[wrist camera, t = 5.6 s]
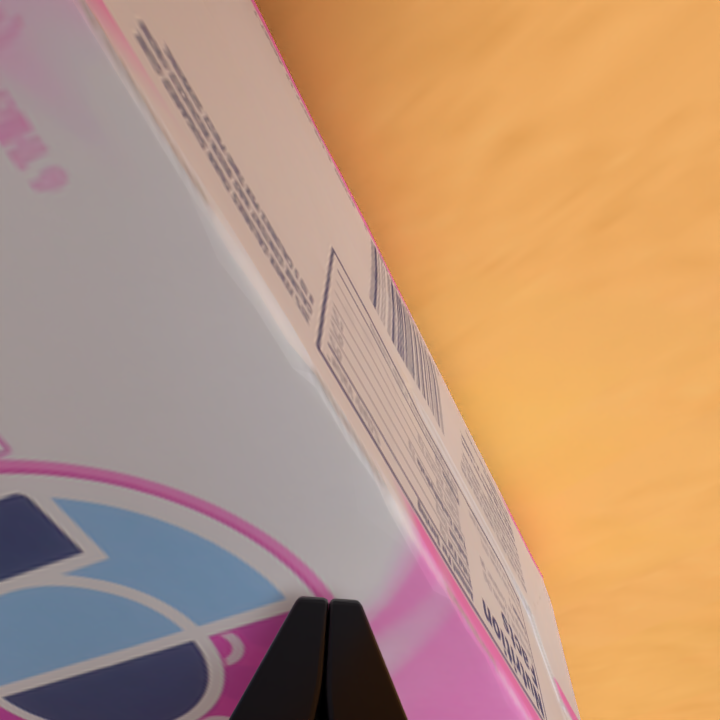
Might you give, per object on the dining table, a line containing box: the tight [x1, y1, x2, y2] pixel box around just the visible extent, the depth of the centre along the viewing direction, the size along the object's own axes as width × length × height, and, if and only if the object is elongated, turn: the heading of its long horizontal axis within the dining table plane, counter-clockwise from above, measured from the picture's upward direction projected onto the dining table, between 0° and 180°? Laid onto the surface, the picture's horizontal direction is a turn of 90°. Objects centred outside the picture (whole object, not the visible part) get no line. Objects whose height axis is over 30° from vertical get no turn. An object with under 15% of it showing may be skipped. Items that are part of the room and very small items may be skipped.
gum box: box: [0, 0, 581, 720], centre depth 15 cm, size 24×8×14 cm
